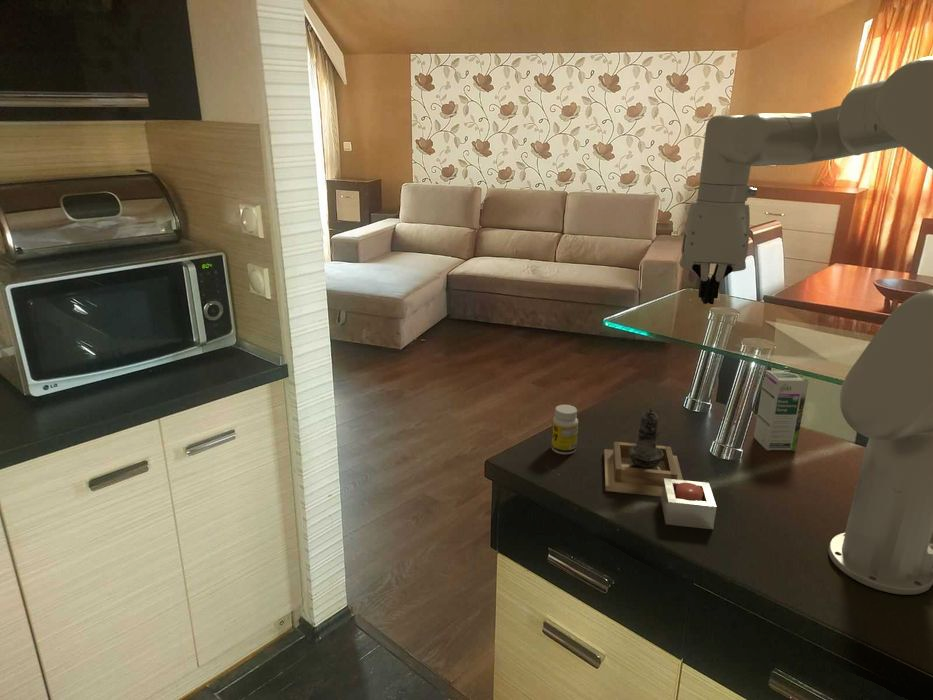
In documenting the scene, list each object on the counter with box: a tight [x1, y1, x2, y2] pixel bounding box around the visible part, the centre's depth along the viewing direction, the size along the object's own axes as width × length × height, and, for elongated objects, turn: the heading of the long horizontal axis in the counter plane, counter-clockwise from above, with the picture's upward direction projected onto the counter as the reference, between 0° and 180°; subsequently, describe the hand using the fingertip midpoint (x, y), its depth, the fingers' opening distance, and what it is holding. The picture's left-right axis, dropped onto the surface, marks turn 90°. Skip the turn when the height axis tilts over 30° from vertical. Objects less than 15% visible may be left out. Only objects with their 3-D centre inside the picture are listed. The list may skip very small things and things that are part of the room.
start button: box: [675, 483, 703, 501], centre depth 102 cm, size 4×4×3 cm
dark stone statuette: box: [628, 407, 663, 470], centre depth 111 cm, size 6×6×12 cm
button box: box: [660, 478, 718, 530], centre depth 102 cm, size 7×7×4 cm
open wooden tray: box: [603, 441, 684, 497], centre depth 113 cm, size 13×13×4 cm
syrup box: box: [753, 369, 809, 452], centre depth 123 cm, size 6×6×14 cm
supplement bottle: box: [550, 404, 579, 455], centre depth 121 cm, size 5×5×8 cm
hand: (707, 301), depth 113 cm, fingers closed
